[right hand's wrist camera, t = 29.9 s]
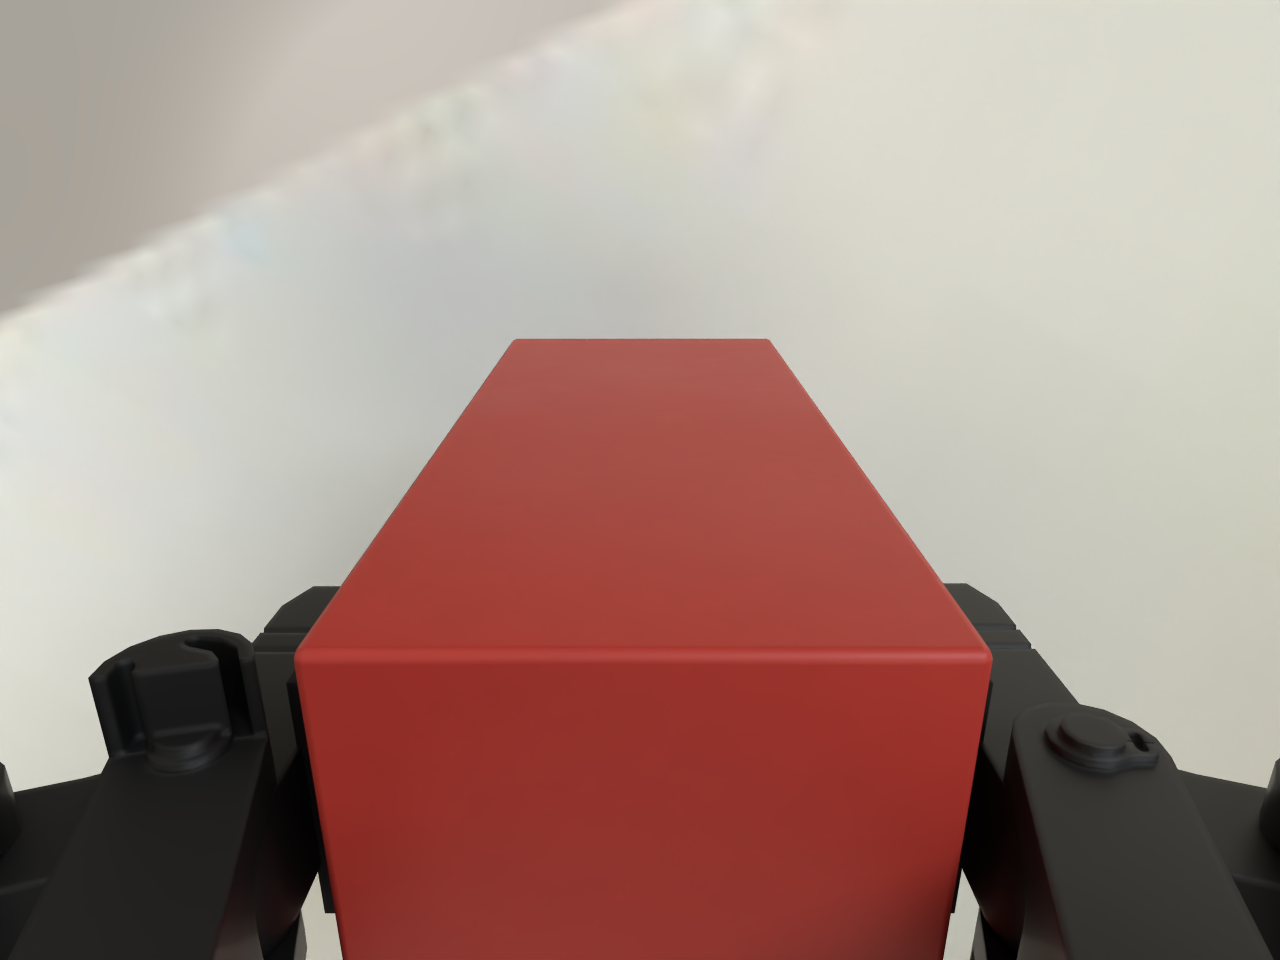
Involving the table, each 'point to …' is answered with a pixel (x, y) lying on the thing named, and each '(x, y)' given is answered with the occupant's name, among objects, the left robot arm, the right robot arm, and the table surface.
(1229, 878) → the right robot arm
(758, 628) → the brick
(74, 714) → the table surface
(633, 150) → the table surface
